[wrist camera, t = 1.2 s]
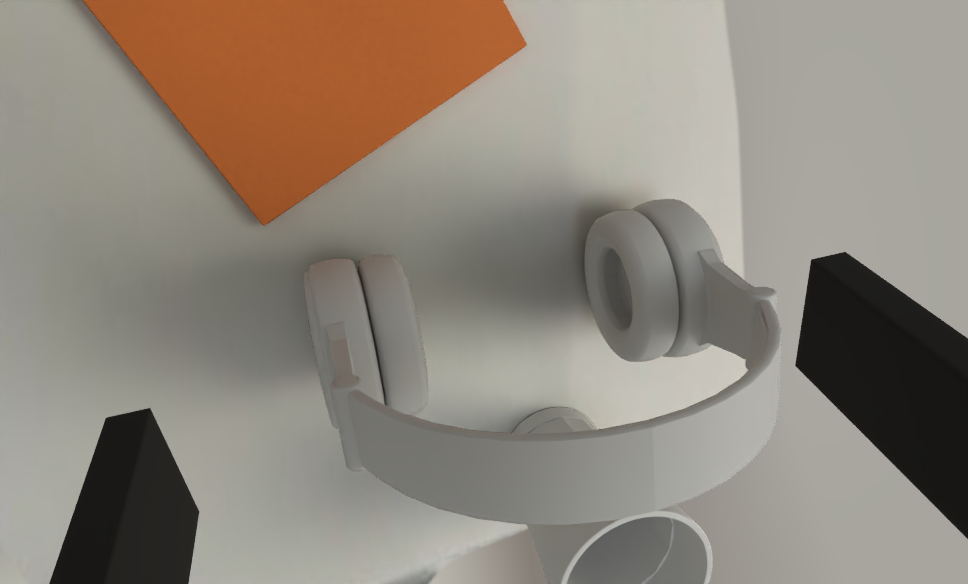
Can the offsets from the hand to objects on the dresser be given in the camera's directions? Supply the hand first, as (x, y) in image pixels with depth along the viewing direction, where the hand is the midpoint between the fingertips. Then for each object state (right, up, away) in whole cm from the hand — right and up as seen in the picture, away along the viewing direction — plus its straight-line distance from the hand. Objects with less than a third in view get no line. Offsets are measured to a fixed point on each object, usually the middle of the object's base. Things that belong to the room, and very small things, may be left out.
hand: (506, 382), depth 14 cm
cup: (+4, -8, +31) cm, 32 cm away
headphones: (0, +2, +26) cm, 26 cm away
